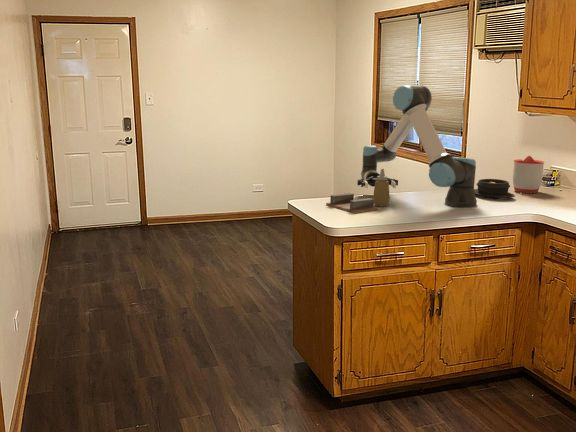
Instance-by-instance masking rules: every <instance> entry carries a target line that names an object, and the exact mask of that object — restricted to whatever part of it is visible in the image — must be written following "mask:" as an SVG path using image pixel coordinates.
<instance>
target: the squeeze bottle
mask: <svg viewBox="0 0 576 432" xmlns="http://www.w3.org/2000/svg"><path fill="white" fill-rule="evenodd" d="M379 174H380V176H377V181H375V187H373V193H372V199H374V206H375V207H380V206H381V207H383V206H384V207H387V206H388V205H389V201H390V185H389V182H388V181H387V178H388V176H387V175H386V174H385V169H384V168H381V169H380V173H379ZM384 207H383V208H384Z"/></svg>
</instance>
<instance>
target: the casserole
mask: <svg viewBox="0 0 576 432" xmlns="http://www.w3.org/2000/svg"><path fill="white" fill-rule="evenodd" d="M476 186H477V188H474V192H475V195H479V196H480V197H482V198H486V199H493V200H494V199H495V200H496V199H512V198H515V197H516V195H515V194H513V193H511V192H509V189H510V187H511V185H510V182H509V181H508V180H505V179H500V178H499V179H497V178H483V179H478V181H477V183H476Z"/></svg>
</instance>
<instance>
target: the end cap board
mask: <svg viewBox="0 0 576 432" xmlns="http://www.w3.org/2000/svg"><path fill="white" fill-rule="evenodd" d="M329 197H330V199H329V200H330V202H326V203H325V205H326V206H329V207H331V208H335V209H338V210H342V211H346V212H349V213H353V214H360V213H368V212H373V211H374V212H375V211H378V210H379V207H378V206H375V203H374V199H373V197H372V198H370V197H367V198H359V199H354V198H355V194H354V193H351V192H349V193H348V192H346V193H340V194H339V193H338V194H331V195H330V196H329Z"/></svg>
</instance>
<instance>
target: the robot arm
mask: <svg viewBox="0 0 576 432" xmlns="http://www.w3.org/2000/svg"><path fill="white" fill-rule="evenodd" d="M432 99H433V97H432V92H431V90H430V89H429V88H428V87H427V86H426V85H423V84H415V85H409V84H405V85H401V86H398V87H397V88H396V89H395V91H394V93H393V96H392V102H393V103H392V104H393V106H394V108H395V109H397V110H399V111H401V112H402V117H400V119H399V121H398V123H397V124H396V125H395V127H394V128H393V130H392V132H391V133H390V135H389V136H388V138H387V139H386V140H385V142H384V144H383V145H382V147H380V148H378V146H377V145H370V144H369V145H367V144H366V145H364V146H363V147H362V149H363V150H362V170H361V172H360V176H361V178H359V179H357V184H356V185H357V186H360V187H361V188H365V189H368V186H369V187H373V188H374V187H375V181H377V176H380V173H378V170H377V167H378V163H385V162H386V163H387V162H391V161H394V160H396V158H397V154H398V153H397V150H398V149H399V148H400V146H401V145H402V143H403V142H404V140H405V139H406V138H407V136H408V135H409V133H410V132H411V131H412V129H413V130H414V132H415V133H416V135H417V137H418V140H419V142H420V144H421V145H422V148H423V149H424V152H425V154H426V156H427V157H428V160H429V162H428V167H429V170H428V178H429V179H430V181H431V183H432V184H433V185H434V186H436V187H439V188H448V191H447V193H446V197H445V198H444V205H447V206H450V207H456V208H457V207H458V208H471V207H472V208H474V207H475V206H477V204H478V203H477V201H478V200H477V199H476V194H475V192H474V189H475V183H476V182H475V180H476V169H477V166H476V164H477V162H476V160H475V159H473V158H468V157H467V158H466V157H457V156H452V154H451V153H448V152H447V151H446V149H445V147H444V145H443V142H442V141H441V139H440V137H439V135H438V133H437V130H436V128H435V127H434V125H433V123H432V121H431V119H430V116H429V115H428V113H427V111H428V110H429V108H430V106H431V104H432ZM387 181H388V182H389V186H390V187H392V188H393V189H396V188H397V186H399V180H398V179H395V178H390V177H387Z"/></svg>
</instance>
